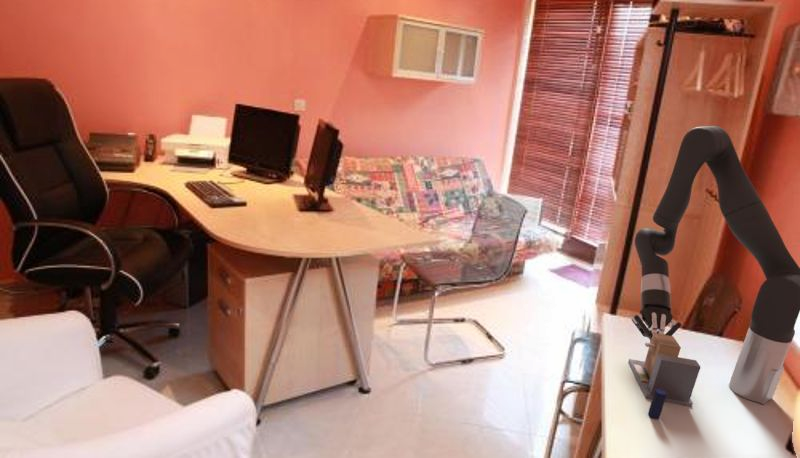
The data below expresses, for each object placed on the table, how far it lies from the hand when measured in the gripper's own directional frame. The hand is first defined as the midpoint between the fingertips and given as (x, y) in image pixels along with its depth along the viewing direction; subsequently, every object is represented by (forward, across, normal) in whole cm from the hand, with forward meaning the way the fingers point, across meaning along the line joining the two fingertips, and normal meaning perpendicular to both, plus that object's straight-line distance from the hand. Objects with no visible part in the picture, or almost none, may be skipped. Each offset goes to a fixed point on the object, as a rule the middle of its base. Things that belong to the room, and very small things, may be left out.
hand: (656, 353), depth 144 cm
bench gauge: (+8, 0, 0) cm, 8 cm away
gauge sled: (+5, -1, 0) cm, 6 cm away
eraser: (+20, -6, -12) cm, 23 cm away
